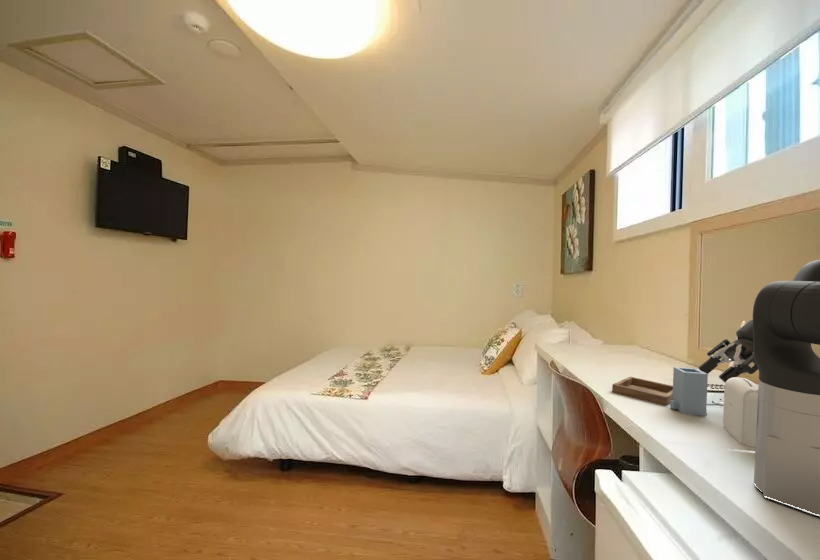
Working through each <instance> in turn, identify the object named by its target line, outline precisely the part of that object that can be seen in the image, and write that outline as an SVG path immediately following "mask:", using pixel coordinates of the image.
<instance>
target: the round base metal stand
mask: <svg viewBox="0 0 820 560" xmlns="http://www.w3.org/2000/svg"><path fill="white" fill-rule="evenodd" d="M670 409H671V410H672V411H674V412H677V413H679V414H683V415H686V416H691V417H706V416H708V412H706V415H695V414H684V413H681V412H680V411H678V410H677V409H673V408H672V407H670Z"/></svg>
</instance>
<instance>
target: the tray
mask: <svg viewBox="0 0 820 560" xmlns="http://www.w3.org/2000/svg"><path fill="white" fill-rule="evenodd" d="M612 393H614V394H619V395H622V396H626V397H630V398H635V399H637V400H638V399H639V400H642V401H646V402H651V403H654V404H658V405H663V406H666V407H667V406H668V405H670V400H672V397H673V384H672V385H671V384H666V383H662V382H657V381H653V380H648V379H643V378H639V377H634V376H629V377H626V378H624V379H621V380H619V381H617V382H615V383H612Z"/></svg>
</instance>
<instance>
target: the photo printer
mask: <svg viewBox="0 0 820 560" xmlns="http://www.w3.org/2000/svg"><path fill="white" fill-rule="evenodd" d="M723 389H724V392H723V397H724V406H723V413H722V414H723V416H722V417H723V419H722V422H723V423H722V424H723V429H725V431H726V432H727V433H728V434H729V435H730V436H732V437H733V438H734V439H735V440H736V441H737V442H739V443H740V444H743V445H746V446H749V447H753V448H755V447H756V427H757V407H758V389H759V385H757V384H756V383H754V381H751V380H750V379H748V378H745V377H739V376H738V377H733V378H730V379H728V380H727V381H726V383H725V382H724V388H723Z"/></svg>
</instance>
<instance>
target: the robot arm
mask: <svg viewBox="0 0 820 560" xmlns="http://www.w3.org/2000/svg"><path fill="white" fill-rule="evenodd" d="M735 335H736V337H737V339H736V340H735V341H732V342H731V341H729V340H728V339H727V338H726V339H724V340H722V341H721V342H720V343H718V344H717V345H716V346H714V347H713V348H712V349H710V351H708V352H707V353H706V355H707V357H708V359H707V360H706V361H705V362H703V363H702V364H701V365H700V366H699V367H698V370H700V371H702V372H705V373H707V374H710V373H711V372H713V370H715V369H716V368H717V367H719V365H721V364H724V363H731V362H733V364H732V365H730V366H729V367H728V368H727V369H726V370H724V371H723V372H722V373H720V375H718V378H719V379H720V380H721V381H722V382H723V383H724V384H725V383H726V381H727V380H728V379H730V378H733V377H738V378H739V376H740V375H745V374H746V373H747V374H749V375H753V374H755V373H756V372H757V371H758V387H759V389H758V407H757V427H756V447H754V449H755V450H754V452H755V453H754V472H753V473H754V475H753V484H754V483H755V484H756V486H757V487H758V488H759V489H760V490H761V491H762V492H763V494H762V496H763V495H764V496H767V497H770V498H773V499H776V500H778V501H781V502H783V503H787V504H790V505H793V506H795V507H799V508H801V509H805V510H807V511H810V512H812V513H815V514H819V515H820V356H818V354H817V353H815V352H814V350H813V346H812V344H813V345H819V346H820V259H816V260H812V261H810V262H808V263H806V264H804V265H803V266H802V267H801V268H800V269H799V270H798V271H797V273H796V274H795V275H794V277H793V279H792V280H777V281H773V282H770V283H767V284H766V285H765V286H763V287H762V289H760V291H759V292H758V293H757V295H756V298H755V300H754V302H753V309H752V318H751V319H750V320H749V321H747V323H745V324H744V325H743V326H742V327H740V328H739V329H738V330H737V331H736V332H735Z"/></svg>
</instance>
